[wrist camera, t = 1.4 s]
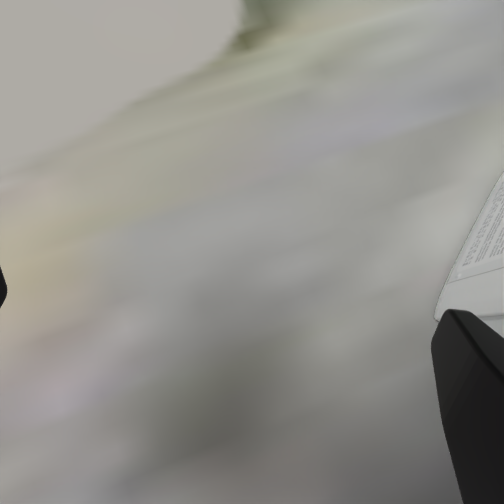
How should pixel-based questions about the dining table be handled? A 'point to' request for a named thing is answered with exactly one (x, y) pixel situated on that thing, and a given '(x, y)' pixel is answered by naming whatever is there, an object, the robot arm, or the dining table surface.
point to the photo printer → (480, 267)
